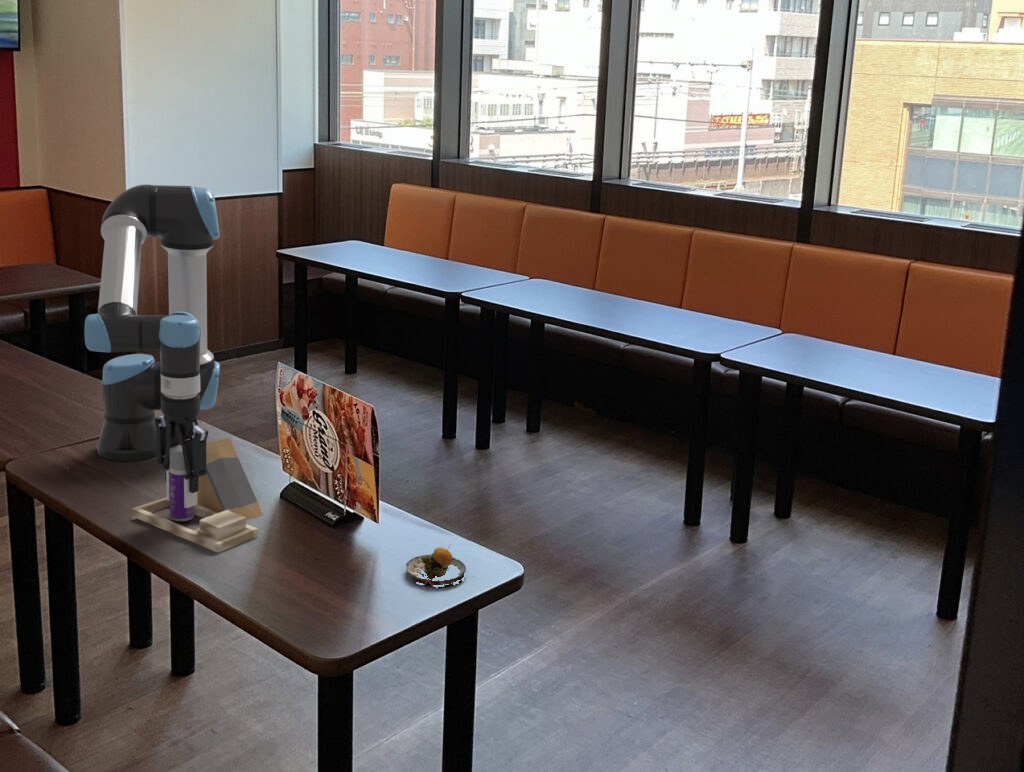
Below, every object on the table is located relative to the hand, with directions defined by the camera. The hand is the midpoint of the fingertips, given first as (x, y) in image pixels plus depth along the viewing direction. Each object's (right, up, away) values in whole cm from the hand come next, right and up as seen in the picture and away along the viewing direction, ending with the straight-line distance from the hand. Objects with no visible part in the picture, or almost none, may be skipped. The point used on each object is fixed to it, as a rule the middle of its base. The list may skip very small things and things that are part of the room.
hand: (182, 502), depth 221 cm
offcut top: (+10, -5, -6) cm, 13 cm away
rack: (+3, -6, -1) cm, 7 cm away
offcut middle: (+10, -6, -6) cm, 13 cm away
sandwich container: (+8, -4, +8) cm, 12 cm away
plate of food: (+53, -13, -11) cm, 56 cm away
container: (0, -3, +1) cm, 3 cm away
